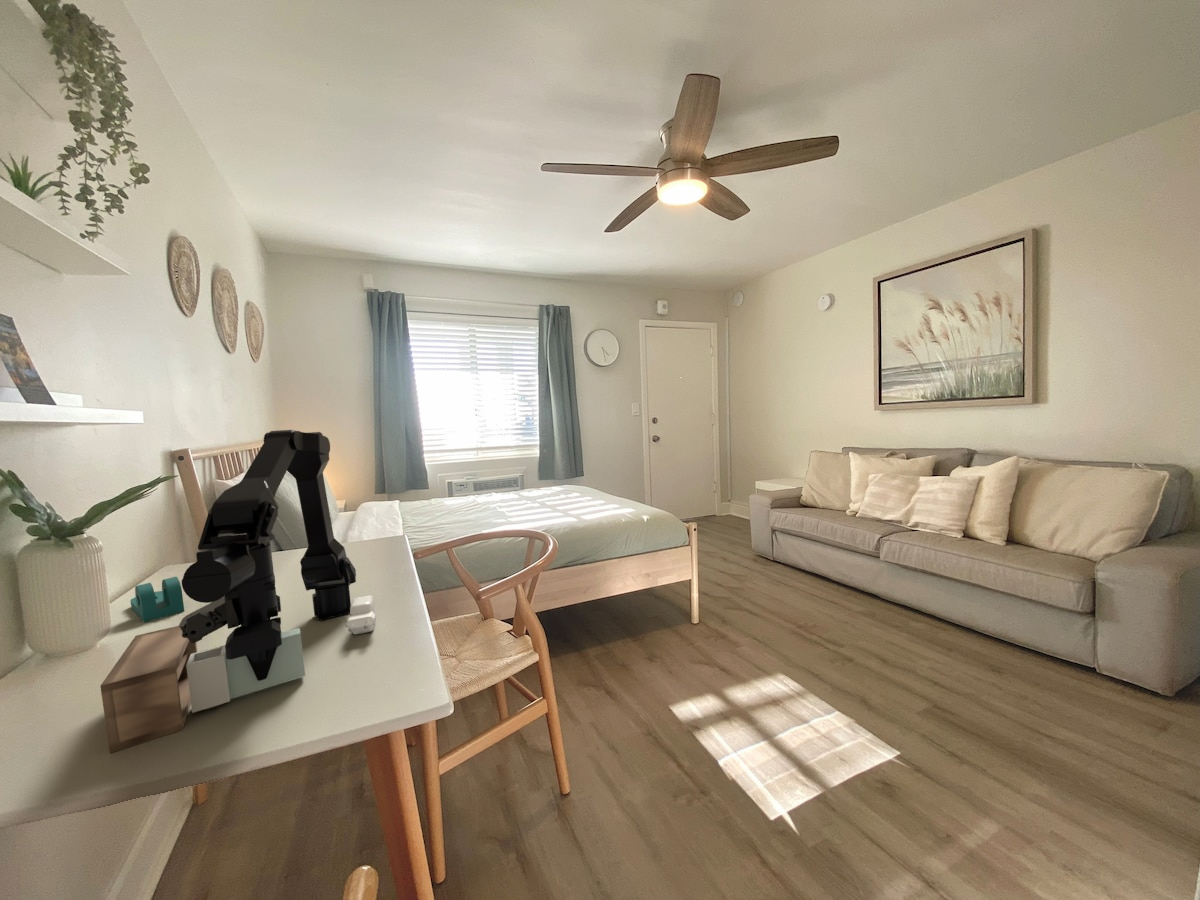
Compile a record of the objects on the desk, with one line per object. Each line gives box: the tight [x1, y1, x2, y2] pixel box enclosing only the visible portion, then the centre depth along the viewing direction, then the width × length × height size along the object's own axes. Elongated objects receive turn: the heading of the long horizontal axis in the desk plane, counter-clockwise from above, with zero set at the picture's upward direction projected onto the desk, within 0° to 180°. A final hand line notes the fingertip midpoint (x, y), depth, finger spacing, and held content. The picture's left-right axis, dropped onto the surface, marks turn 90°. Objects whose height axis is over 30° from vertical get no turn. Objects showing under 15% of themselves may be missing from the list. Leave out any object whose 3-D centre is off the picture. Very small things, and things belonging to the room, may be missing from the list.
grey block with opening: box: [186, 627, 306, 714], centre depth 71 cm, size 14×4×7 cm, turn 125°
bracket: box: [129, 576, 185, 624], centre depth 110 cm, size 18×7×8 cm, turn 53°
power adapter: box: [345, 595, 376, 635], centre depth 90 cm, size 11×5×6 cm, turn 21°
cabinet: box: [100, 625, 223, 754], centre depth 70 cm, size 11×18×9 cm, turn 35°
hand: (262, 675), depth 72 cm, fingers closed on grey block with opening, 2 cm apart
